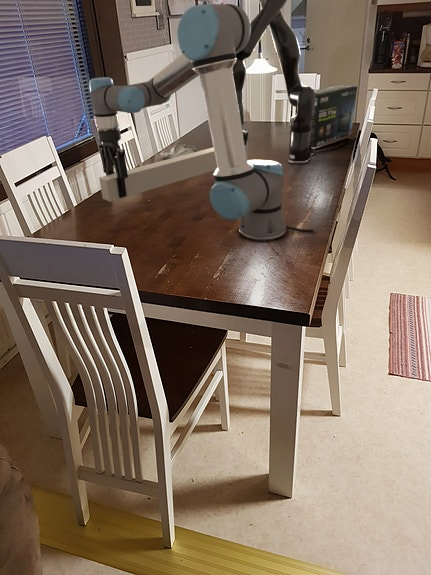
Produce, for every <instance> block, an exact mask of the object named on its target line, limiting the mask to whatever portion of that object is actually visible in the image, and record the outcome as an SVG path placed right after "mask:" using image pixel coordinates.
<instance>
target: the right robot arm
mask: <svg viewBox="0 0 431 575" xmlns="http://www.w3.org/2000/svg"><path fill="white" fill-rule="evenodd" d="M258 1H259V4H260V6H261V7H260V8H261V9H260V11H259V12H258V14H257V15H256V16H255V17H254V18H253V19H252V20H251V21H250V25H251V34H250V38H249V41H248V43H247V45H246V46H245V47H244V48H243V49H242V50H241V51H240V52H238V53H237V54H236V62H235V63H234V65H233V67H232V72H233V78H234V84H235V90H236V96H237V102H238V108H239V114H240V120H241V126H242V132H243V138H244V144H245V145H247V142H248V138H249V131H248V130H246V131H245V130H244V128H243V127H244V124H245V119H244V118H245V116H244V115H245V111H244V108H245V107H244V93H243V92H244V91H243V90H244V85H245V80H246V77H247V68H246V64H245V62H244V61H245V60H247V59H249V58H250V57H251V56H252V55H253V53H254V51H255V50H256V48H257V46H258V44H259V42H260V40H261V39H262V36H264V34H265V32H266V30H267V29H268V28H269V30H270V34H271V36H272V40H273V44H274V48H275V51H276V55H277V58H278V61H279V64H280V68H281V72H282V75H283V79H284V84H285V90H286V94H287V99H288V102H289V104H290V105H291V106H292V107H294V108H297V110H296V114H295V115H293V116H291V117H290V128H289V129H290V130H289V148H288V150H289V151H288V163H289V164H294V165H304V164H308V163H309V162H311V157H315V155H317V154H318V153H321V152H320V151H319V152H316V151H315V150H312V148H311V143H312V141H311V140H310V133H311V120H312V118H313V115H314V107H315V91H314V90H315V89H314V88H313V87H312V86H310V85H303V83H302V81H301V77H300V74H299V66H300V61H301V49H300V45H299V41H298V38H297V35H296V33H295V32H294V30H293V28H292V27H291V26H290V24H289V23H288V21H287V20H286V19H285V16H284V15H283V11H282V9H283V7H284V6H285V4H286V3H287V2H288V0H258ZM355 139H356V140H358V138H357V137H356V138H355ZM355 139H354V140H355ZM356 140H355V141H356ZM314 151H315V152H314ZM311 153H313V155H311ZM309 158H310V160H308V159H309ZM289 159H290V160H293V161H305V160H308V161H306V162H292V161H290V160H289Z"/></svg>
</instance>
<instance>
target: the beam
mask: <svg viewBox="0 0 431 575" xmlns="http://www.w3.org/2000/svg"><path fill="white" fill-rule="evenodd" d="M245 150H246V156H247V161H249V141H247V145H245ZM216 169H217V163H216V158H215V152H214V147H213V146H212V147H209V148H205V149H201V150H198V152H194V153H190V154H186V155H182V156H179V157H175V158H171V159H163V160H160V161H156V162H153V163H149V164H145V165H141V166H137V167H133V168H130V169H127V174H128V178H125V187H126V194H127V196H125V197H122V198H119V193H118V186H117V180H116V179H118V178H117V174H116V172H115V173H114V174H110V175H107V174H106V175H104V176H99V177H98V179H99V180H98V181H99V184H100V191H101V197H102V200H105V201H107V202H109V203H111V202H115V201H117V200H120V199H124V198H127V197H131V196H134V195H138V194H140V193H144V192H147V191H150V190H155V189H158V188H160V187H165V186H168V185H171V184H173V183H177V182H180V181H184V180H187V179H191V178H194V177H197V176H200V175H203V174H204V175H205V174H207V173H211V172H213V171H214V172H215V170H216Z"/></svg>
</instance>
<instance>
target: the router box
mask: <svg viewBox="0 0 431 575" xmlns="http://www.w3.org/2000/svg"><path fill="white" fill-rule="evenodd" d="M314 91H315V107H314V115H313V118H312V120H311V133H310V140H311V141H312V143H311V147H317V146H320V145H323V144H325V143H328V142H331V141H333V140H336V139H338V138H341V137H344V136H347V135H351V136H352V133H353V132H352V131H353V125H354V115H355V109H356V99H357V93H358V86H356V85H350V84H339V85H338V84H337V85H334V86H328V87H324V88H318V89H314Z"/></svg>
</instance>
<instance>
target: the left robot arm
mask: <svg viewBox="0 0 431 575" xmlns="http://www.w3.org/2000/svg"><path fill="white" fill-rule="evenodd" d="M250 23H251V21H250V18H249V16H248V14H247V13H246V11H245V10H244V9H242V8H241V7H240V6H238V5H236V4H232V3H223V4H222V3H220V4H219V3H203V4H198V5H193V6H190V7H189V8H187V9H186V10H185V11H184V12H183V14H182V15H181V17H180V20H179V21H178V25H177V30H176V40H177V45H178V48H179V50H180V53H181V54H180V55H179V56H178V57H176V58H175V59H174V60H173V61H172V62H170V63H169V64H168V65H167V66H165V67H164V68H163V69H161V70H160V71H158V73H156V74H155V75H154V76H153V77H151V78H150V79H149V80H147V81H143V82H139V83H132V84H128V85H115V84H114V81H113V78H112V77H108V76H106V77H105V76H104V77H94V78H91V79H90V80H89V82H88V83H89V84H88V85H89V94H90V99H91V103H92V110H93V115H94V121H95V122H94V123H95V127H96V129H97V131H96V134H97V139H98V141H99V142H100V143H102V144H99V145H98V149H99V153H100V159H101V165H102V170H103V171H102V172H103V173H104V174H106V176H107V175H110V174H114V173H116V174H117V178H118V179H116V180H117V186H118V193H119V198H121V199H123V198H122V197H124V198H126V197H125V196H127V194H126V187H125V178H128V174H127V170H128V169H127V162H126V161H127V160H126V150H125V149H123V148H121V147H120V143H119V141H121V139H122V134H121V129H120V127H119V126H120V123H119V116H118V112H121V113H127V114H136V113H140V112H141V111H142V110H143V109H145V108H149V107H155V106H161V105H162V104H166V103H168V102H169V101H170V98H171V97H172V95H173V94H175V93H176V92H177V91H179V90H181V89H182V88H183V87H184V86H186V85H188V83H190V82H192V81H193V80H194V79H196V78H197V77H199V79H200V86H201V91H202V94H203V100H204V105H205V110H206V116H207V120H208V127H209V130H210V131H209V132H210V136H211V142H212V148H213V147H214V152H215V158H216V163H217V169H216V170H214V172H213V175H212V176H213V180H214V184H213V185H212V186H211V190H210V191H209V202H210V205H211V207H212V208H213V210H214V211H215V213H217V214H219V216H221V218H222V219H225V220H227V221H237V220H240V219H241V220H240V222H239V226H238V232H239V235H240V236H241V237H242V238H244V239H247V240H250V241H254V242H271V241H277V240H279V239H281V238H283V237H285V235H286V234H287V230H292V231H296V232H301V233H314V229H313V228H310V229H309V228H308V229H304V228H297V227H294V226H288V225H287V223H286V221H285V216H284V214H283V210H282V200H283V183H284V169H283V165H282V164H281V163H280V162H278V161H275V160H270V159H248V160H247V156H246V150H245V144H244V138H243V132H242V128H243V126H241V120H240V114H239V108H238V102H237V96H236V90H235V84H234V78H233V72H232V67H233V65H234V63H235V62H236V54H237V53H238V52H240V51H241V50H242V49H243V48H244V47H245V46H246V45H247V43H248V41H249V38H250V34H251V25H250Z"/></svg>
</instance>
